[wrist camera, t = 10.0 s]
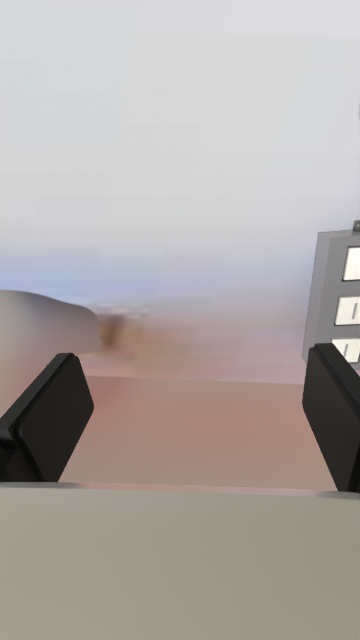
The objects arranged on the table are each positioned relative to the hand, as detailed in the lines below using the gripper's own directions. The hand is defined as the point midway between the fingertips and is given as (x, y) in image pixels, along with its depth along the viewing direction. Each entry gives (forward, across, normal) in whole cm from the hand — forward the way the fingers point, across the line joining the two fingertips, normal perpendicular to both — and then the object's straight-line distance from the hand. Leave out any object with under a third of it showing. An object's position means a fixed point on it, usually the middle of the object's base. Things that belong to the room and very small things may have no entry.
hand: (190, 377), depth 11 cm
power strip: (+30, -20, +10) cm, 38 cm away
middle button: (+29, -20, +10) cm, 36 cm away
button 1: (+29, -20, +17) cm, 39 cm away
